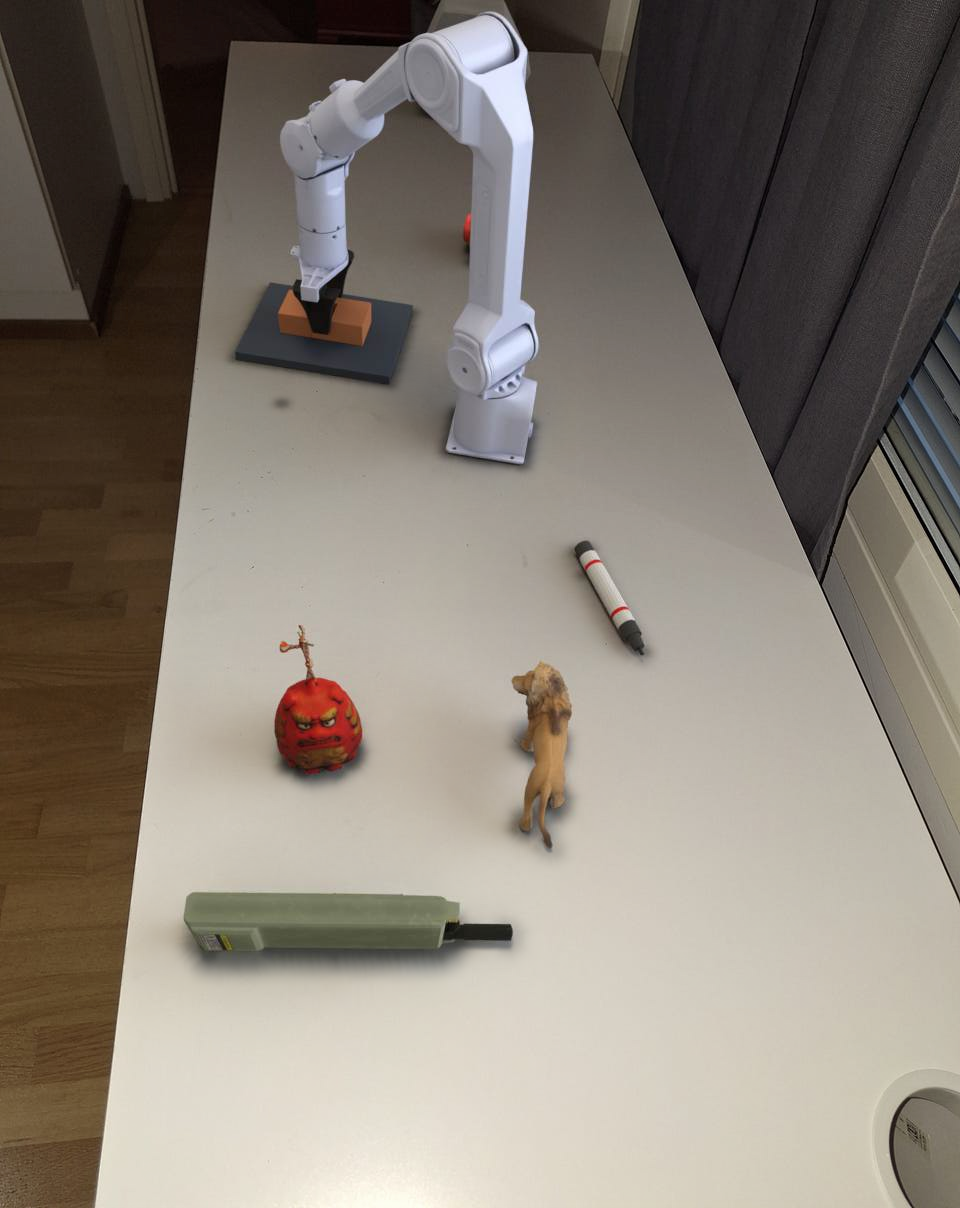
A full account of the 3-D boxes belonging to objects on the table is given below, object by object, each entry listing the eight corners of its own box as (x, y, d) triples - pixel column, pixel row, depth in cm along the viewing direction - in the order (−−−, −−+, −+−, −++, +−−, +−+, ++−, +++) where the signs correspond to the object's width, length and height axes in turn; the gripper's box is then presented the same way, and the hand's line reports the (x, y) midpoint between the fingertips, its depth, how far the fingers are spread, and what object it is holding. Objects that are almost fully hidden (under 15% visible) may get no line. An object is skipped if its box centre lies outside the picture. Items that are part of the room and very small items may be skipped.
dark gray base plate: (412, 312, 125) (413, 274, 120) (389, 384, 115) (390, 345, 111) (270, 289, 125) (266, 250, 121) (235, 359, 115) (229, 320, 111)
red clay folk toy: (284, 786, 80) (268, 697, 68) (272, 719, 84) (255, 624, 72) (368, 768, 82) (367, 678, 70) (353, 703, 86) (349, 608, 74)
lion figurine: (502, 707, 87) (513, 654, 80) (556, 705, 88) (571, 652, 81) (521, 852, 78) (535, 808, 71) (581, 849, 79) (600, 804, 72)
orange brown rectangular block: (371, 322, 121) (371, 302, 118) (362, 346, 118) (362, 326, 115) (290, 309, 121) (289, 289, 119) (279, 332, 118) (277, 312, 115)
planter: (541, 83, 163) (488, -35, 148) (544, 102, 158) (489, -17, 144) (460, 129, 169) (401, 21, 155) (460, 149, 164) (399, 39, 150)
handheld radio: (202, 911, 73) (509, 915, 75) (196, 953, 71) (511, 956, 73) (188, 884, 67) (519, 889, 69) (180, 929, 66) (521, 933, 68)
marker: (572, 554, 100) (575, 542, 99) (588, 550, 101) (592, 538, 99) (633, 664, 92) (637, 652, 90) (650, 659, 92) (654, 648, 91)
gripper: (304, 185, 112) (310, 283, 123) (271, 247, 103) (281, 346, 114) (360, 194, 112) (361, 291, 123) (332, 257, 103) (336, 355, 114)
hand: (326, 318), depth 118 cm, fingers closed on orange brown rectangular block, 5 cm apart
